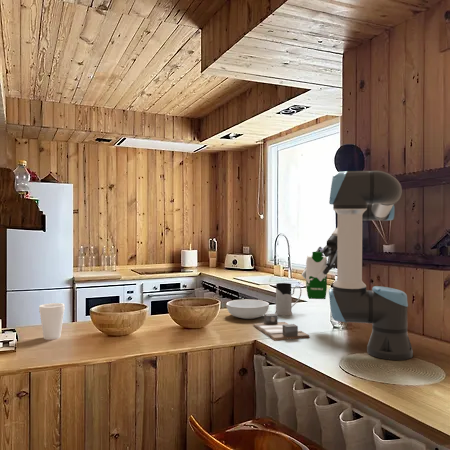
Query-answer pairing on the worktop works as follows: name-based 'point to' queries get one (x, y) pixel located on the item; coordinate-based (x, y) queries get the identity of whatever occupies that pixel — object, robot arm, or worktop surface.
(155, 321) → the worktop surface
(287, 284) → the white pitcher
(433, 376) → the worktop surface
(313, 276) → the soya milk
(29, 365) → the worktop surface
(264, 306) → the serving bowl
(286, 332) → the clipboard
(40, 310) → the foam cup
